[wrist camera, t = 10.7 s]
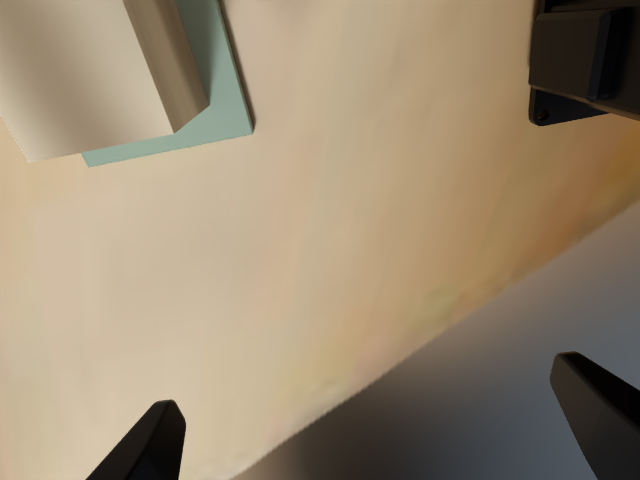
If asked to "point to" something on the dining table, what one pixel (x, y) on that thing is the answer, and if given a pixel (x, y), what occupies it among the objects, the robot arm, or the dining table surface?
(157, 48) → the birch block
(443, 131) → the dining table surface
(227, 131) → the pad
